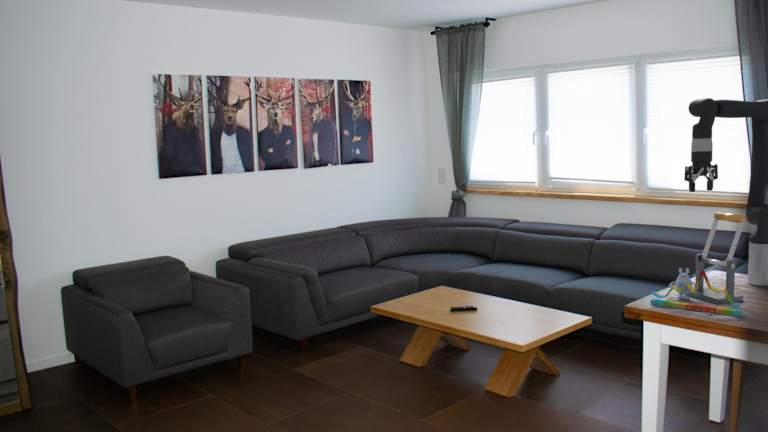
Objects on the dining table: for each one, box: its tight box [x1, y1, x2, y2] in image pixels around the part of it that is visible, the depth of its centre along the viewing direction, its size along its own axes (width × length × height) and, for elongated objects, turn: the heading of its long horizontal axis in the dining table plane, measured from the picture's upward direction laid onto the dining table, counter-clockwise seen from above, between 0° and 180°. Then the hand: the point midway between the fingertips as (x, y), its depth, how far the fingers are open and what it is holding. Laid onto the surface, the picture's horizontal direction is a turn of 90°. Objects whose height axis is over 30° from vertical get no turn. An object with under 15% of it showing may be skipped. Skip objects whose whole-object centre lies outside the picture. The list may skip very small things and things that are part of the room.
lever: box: [700, 211, 748, 268], centre depth 261 cm, size 3×13×20 cm, turn 20°
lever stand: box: [687, 253, 744, 305], centre depth 262 cm, size 12×18×16 cm
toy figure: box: [668, 267, 699, 300], centre depth 263 cm, size 11×6×12 cm, turn 63°
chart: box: [650, 269, 743, 317], centre depth 247 cm, size 30×3×15 cm, turn 49°
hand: (700, 191), depth 270 cm, fingers open, 8 cm apart
